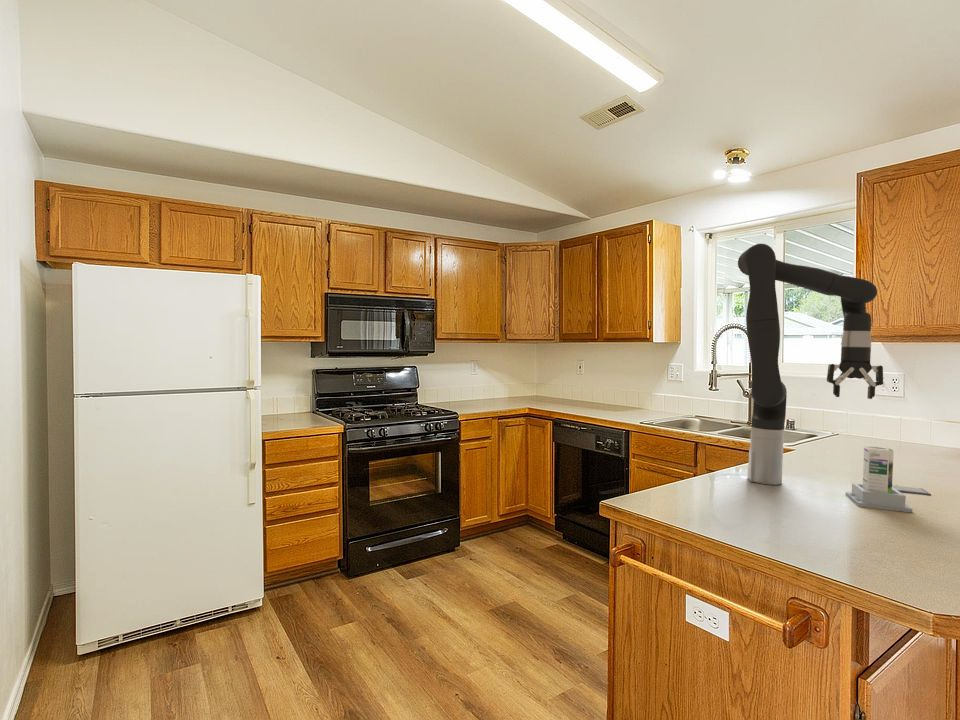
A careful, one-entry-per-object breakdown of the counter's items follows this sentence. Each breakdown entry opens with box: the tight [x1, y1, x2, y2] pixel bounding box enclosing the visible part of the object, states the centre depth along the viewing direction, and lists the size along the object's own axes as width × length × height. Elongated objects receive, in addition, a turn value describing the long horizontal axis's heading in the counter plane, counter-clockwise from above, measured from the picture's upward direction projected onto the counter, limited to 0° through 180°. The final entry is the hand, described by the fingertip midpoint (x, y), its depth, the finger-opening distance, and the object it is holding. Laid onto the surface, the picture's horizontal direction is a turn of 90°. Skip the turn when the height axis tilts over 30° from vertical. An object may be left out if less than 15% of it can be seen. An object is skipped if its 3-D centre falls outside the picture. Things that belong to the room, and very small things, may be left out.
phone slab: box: [892, 484, 932, 497], centre depth 163 cm, size 7×13×1 cm, turn 67°
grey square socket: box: [845, 482, 913, 513], centre depth 147 cm, size 12×12×4 cm
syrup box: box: [862, 445, 894, 493], centre depth 147 cm, size 6×6×14 cm
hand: (853, 397), depth 165 cm, fingers open, 8 cm apart
